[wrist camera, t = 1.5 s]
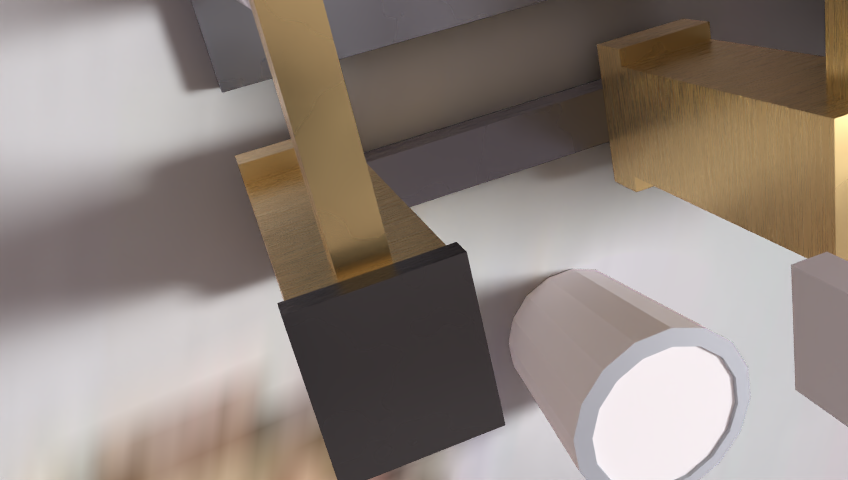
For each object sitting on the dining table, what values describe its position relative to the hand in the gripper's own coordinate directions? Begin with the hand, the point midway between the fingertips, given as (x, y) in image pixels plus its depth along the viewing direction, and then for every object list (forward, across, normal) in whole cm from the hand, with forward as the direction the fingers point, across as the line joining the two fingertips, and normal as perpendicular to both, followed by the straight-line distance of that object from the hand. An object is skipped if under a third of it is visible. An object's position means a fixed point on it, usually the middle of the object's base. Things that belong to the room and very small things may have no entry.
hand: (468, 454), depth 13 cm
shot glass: (+16, +8, -9) cm, 20 cm away
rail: (+16, +6, 0) cm, 17 cm away
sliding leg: (+14, 0, +3) cm, 15 cm away
